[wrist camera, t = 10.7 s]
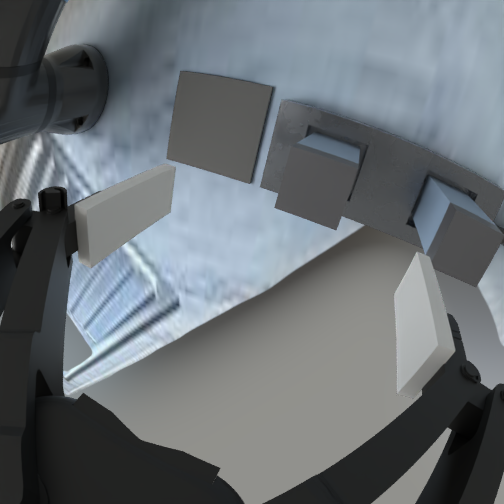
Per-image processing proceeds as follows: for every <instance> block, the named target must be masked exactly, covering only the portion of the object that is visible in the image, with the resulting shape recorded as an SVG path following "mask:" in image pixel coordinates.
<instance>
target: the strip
mask: <svg viewBox="0 0 504 504" xmlns="http://www.w3.org/2000/svg"><path fill="white" fill-rule="evenodd" d="M314 132H318V133H321V134H324V135H327V136H330V137H333V138H336V139H339V140H342V141H345V142H348V143H350V144H353V145H356V146H359V147H360V154H359V165H358V171H357V174H356V177H355V180H354V183H353V185H352V188H351V191H350V194H349V197H348V200H347V202H346V205H345V208H344V211H343V213H342V216H343V217H346V218H349V219H351V220H354V221H356V222H359V223H362V224H364V225H367V226H370V227H372V228H374V229H377V230H379V231H382V232H384V233H387V234H389V235H392V236H394V237H397V238H399V239H402V240H404V241H406V242H409V243H411V244H413V245H416V246H418V247H420V248H423V246H422V243H421V240H420V237H419V234H418V231H417V228H416V226H415V223H414V220H413V217H412V212H413V210H414V208H415V205H416V203H417V201H418V198H419V196H420V193H421V191H422V188H423V186H424V183H425V181H426V178H427V175H431V176H433V177H435V178H437V179H439V180H441V181H443V182H446V183H448V184H450V185H452V186H454V187H456V188H458V189H460V190H462V191H464V192H465V193H466V194H467V195H468V196H469V197H470V198H471V199H472V200H473V201H474V202H475V203H476V204H477V205H478V206H479V207H480V208H481V209H482V210H483V211H484V213H485V214H486V215H487V216H488V217H489V218H490V219H491V220H492V222H493V221H494V219H495V217H496V215H497V213H498V210H499V208H500V206H501V204H502V201H503V199H504V190H503V189H502V188H500V187H499V186H498V185H496V184H494V183H493V182H491V181H489V180H487V179H486V178H484V177H482V176H480V175H478V174H477V173H475V172H473V171H471V170H469V169H467V168H465V167H463V166H461V165H459V164H457V163H455V162H453V161H451V160H449V159H447V158H445V157H443V156H441V155H439V154H437V153H435V152H433V151H430V150H428V149H426V148H424V147H422V146H419V145H417V144H415V143H413V142H410V141H408V140H405V139H403V138H401V137H398V136H396V135H393V134H391V133H388V132H386V131H383V130H381V129H378V128H375V127H373V126H370V125H367V124H365V123H362V122H359V121H356V120H353V119H350V118H347V117H344V116H341V115H338V114H335V113H332V112H329V111H326V110H323V109H319V108H316V107H313V106H309V105H306V104H302V103H299V102H295V101H291V100H281V104H280V108H279V112H278V116H277V120H276V124H275V128H274V132H273V136H272V140H271V144H270V148H269V152H268V156H267V160H266V165H265V169H264V173H263V177H262V181H261V185H260V187H261V188H264V189H267V190H270V191H273V192H276V193H279V189H280V186H281V182H282V178H283V175H284V171H285V167H286V163H287V160H288V156H289V152H290V149H291V146H292V145H294V144H296V143H297V142H299V141H301V140H302V139H304V138H306V137H307V136H309V135H311V134H313V133H314ZM495 225H496V224H495ZM496 226H497V227H498V228H499V230H500V231H501V232H502V233H503V234H504V229H503V228H502V227H500V226H498V225H496ZM501 244H502V245H504V238H503V240H502V242H501Z"/></svg>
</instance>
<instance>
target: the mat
mask: <svg viewBox="0 0 504 504" xmlns="http://www.w3.org/2000/svg"><path fill="white" fill-rule="evenodd" d="M272 91H273V87H270V86H266V85H261V84H257V83H252V82H247V81H242V80H237V79H232V78H226V77H220V76H214V75H208V74H201V73H194V72H187V71H180V76H179V81H178V86H177V92H176V98H175V104H174V110H173V116H172V123H171V129H170V136H169V143H168V151H167V159H169V160H172V161H176V162H179V163H183V164H186V165H190V166H193V167H197V168H200V169H203V170H207V171H210V172H213V173H217V174H220V175H223V176H226V177H229V178H233V179H236V180H239V181H242V182H245V183H248V184H250V183H251V179H252V175H253V170H254V166H255V162H256V158H257V153H258V149H259V145H260V141H261V136H262V132H263V128H264V124H265V120H266V115H267V111H268V107H269V103H270V99H271V95H272Z"/></svg>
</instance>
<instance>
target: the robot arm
mask: <svg viewBox="0 0 504 504" xmlns="http://www.w3.org/2000/svg"><path fill="white" fill-rule="evenodd" d="M67 2H68V0H0V144H3V143H6V142H9V141H12V140H15V139H18V138H21V137H25V136H28V135H31V134H34V133H38V132H49V133H56V134H63V135H72V134H76V133H80V132H84V131H86V130H88V129H89V128H90V127H92V126H93V125H94V123H95V122H96V121H97V120H98V118H99V116H100V115H101V113H102V110H103V108H104V105H105V102H106V98H107V92H108V73H107V68H106V64H105V61H104V59H103V57H102V55H101V54H100V53H99V51H98V50H97V49H95V48H94V47H92V46H90V45H70V46H67V47H64V48H62V49H59V50H57V51H54V52H52V53H50V54H47V55H45V52H46V49H47V46H48V43H49V41H50V38H51V36H52V33H53V30H54V28H55V26H56V23H57V21H58V19H59V17H60V14H61V12H62V10H63V8H64V6H65V4H66V3H67ZM44 55H45V56H44ZM175 170H176V167H175V166H171V165H168V164H162V165H159V166H157V167H155V168H152V169H150V170H147V171H145V172H143V173H140V174H138V175H136V176H134V177H131V178H129V179H127V180H125V181H122V182H120V183H118V184H116V185H114V186H111V187H109V188H107V189H105V190H102V191H98V192H96V193H94V194H92V195H91V196H88V197H86V198H85V199H82V200H80V201H78V202H76V203H74V204H72V205H70V206H68V207H67V190H66V189H65V188H63V187H56V186H55V187H49V188H45V189H43V190H41V191H40V192H39V193H38V198H39V208H40V212H38V211H32V206H31V201H30V200H28V199H16V200H14V201H12V202H10V203H9V204H8V205H6V206H5V207H4V208H3V209H2V210H1V211H0V316H1V315H2V312H3V311H4V313H3V317H2V321H1V325H0V504H244V502H243V500H242V499H241V497H240V496H239V495H238V493H237V492H236V491H235V490H234V489H233V488H232V487H231V486H230V485H229V484H228V483H227V482H225V481H224V480H223V479H221V478H220V477H219V476H217V474H218V472H219V470H220V468H219V467H217V466H214V465H212V464H210V463H207V462H205V461H203V460H200V459H198V458H196V457H194V456H192V455H189V454H187V453H185V452H183V451H179V450H175V449H171V448H167V447H163V446H159V445H156V444H152V443H149V442H145V441H142V440H140V439H139V438H138V437H137V436H135V435H134V434H133V433H132V432H131V431H130V430H129V429H128V428H127V427H126V426H125V425H124V424H123V423H122V422H121V421H120V420H119V419H118V418H117V417H116V416H115V415H114V414H113V413H112V412H111V411H110V410H108V409H106V408H105V407H103V406H102V405H100V404H99V403H97V402H96V401H94V400H93V399H91V398H90V397H88V396H87V395H86V394H84V393H83V394H82V395H81V396H80V397H79V398H78V399H74V398H70V397H65V396H64V391H63V352H64V334H65V321H66V320H65V319H66V310H67V301H68V292H69V284H70V277H71V270H72V263H73V259H72V254H73V253H75V252H76V251H78V257H79V262H80V263H82V264H84V265H86V266H88V267H89V268H92V267H94V266H95V265H96V264H98V263H99V262H100V261H102V260H103V259H104V258H106V257H107V256H108V255H110V254H111V253H113V252H114V251H115V250H117V249H118V248H119V247H121V246H122V245H124V244H125V243H126V242H128V241H129V240H131V239H132V238H134V237H135V236H136V235H138V234H139V233H141V232H142V231H144V230H145V229H146V228H148V227H149V226H151V225H152V224H154V223H155V222H157V221H158V220H160V219H161V218H163V217H164V216H166V215H167V214H169V213H170V212H171V204H172V195H173V186H174V178H175ZM11 241H12V246H13V247H12V248H11ZM394 304H395V317H396V318H395V320H396V341H397V343H396V344H397V394H398V395H402V396H405V397H409V398H412V399H413V398H414V397H415V396H416V395H417V394H418V393H419V392H420V391H421V390H422V396H421V397H420V398H419V399H418V400H416V401H415V402H414V403H413V404H412V405H411V406H410V407H409V408H407V409H406V410H405V411H404V412H403V413H402V414H401V415H399V416H398V417H397V418H396V419H395V420H394V421H392V422H391V423H390V424H389V425H387V426H386V427H385V428H384V429H382V430H381V431H380V432H379V433H377V434H376V435H375V436H374V437H372V438H371V439H369V440H368V441H367V442H365V443H364V444H363V445H362V446H360V447H359V448H357V449H356V450H354V451H353V452H352V453H350V454H349V455H347V456H346V457H345V458H343V459H341V460H340V461H339V462H337V463H336V464H334V465H332V466H331V467H329V468H328V469H326V470H325V471H323V472H321V473H320V474H318V475H315V476H313V477H311V478H310V479H308V480H306V481H304V482H303V483H301V484H299V485H297V486H296V487H294V488H292V489H290V490H289V491H287V492H285V493H283V494H281V495H279V496H277V497H275V498H273V499H271V500H269V501H267V502H265V503H263V504H371V503H372V502H373V501H375V500H376V499H377V498H378V497H379V496H380V495H382V494H383V493H384V492H385V491H386V490H387V489H388V488H389V487H391V486H392V485H393V484H394V483H395V482H396V481H397V480H398V479H399V478H400V477H401V476H402V475H403V474H404V473H406V472H407V471H408V469H410V468H411V467H412V466H413V465H414V463H416V462H417V460H418V459H419V458H420V457H421V456H422V455H423V454H424V453H425V452H426V451H427V450H428V449H429V448H430V446H432V444H433V443H434V442H435V441H436V440H437V439H438V437H439V436H440V435H441V434H442V433H443V432H444V431H445V429H446V428H447V427H448V428H450V429H451V430H452V431H451V434H450V436H449V438H448V441H447V443H446V445H445V448H444V450H443V452H442V454H441V456H440V458H439V460H438V462H437V464H436V466H435V468H434V471H433V473H432V474H431V476H430V478H429V480H428V482H427V484H426V486H425V487H424V489H423V491H422V493H421V495H420V496H419V498H418V500H417V502H416V503H415V504H494V501H495V498H496V495H497V492H498V489H499V486H500V482H501V479H502V475H503V472H504V384H498V385H497V386H496V387H495V388H494V389H493V390H490V389H488V388H487V387H486V386H484V385H483V384H481V383H480V382H481V377H480V373H479V371H478V370H477V368H476V367H475V366H474V365H473V364H472V363H471V362H470V361H467V360H466V355H465V351H464V346H463V343H462V341H461V340H462V338H461V334H460V331H459V327H458V324H457V322H456V320H455V319H454V318H453V316H452V315H451V314H448V313H446V309H445V305H444V302H443V298H442V295H441V291H440V288H439V285H438V281H437V278H436V275H435V272H434V268H433V265H432V262H431V259H430V257H429V256H426V255H424V254H422V253H419V252H416V254H415V256H414V258H413V260H412V263H411V264H410V266H409V268H408V270H407V272H406V274H405V275H404V277H403V279H402V281H401V283H400V285H399V286H398V288H397V290H396V292H395V294H394Z"/></svg>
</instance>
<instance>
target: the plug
mask: <svg viewBox="0 0 504 504" xmlns="http://www.w3.org/2000/svg"><path fill="white" fill-rule="evenodd" d="M359 154H360V147H359V146H356V145H353V144H350V143H348V142H345V141H342V140H339V139H336V138H333V137H330V136H327V135H324V134H321V133H318V132H314V133H313V134H311V135H309V136H307V137H306V138H304V139H302V140H301V141H299V142H297V143H296V144H294V145H292V146H291V149H290V152H289V156H288V160H287V163H286V167H285V171H284V175H283V178H282V182H281V186H280V189H279V193H278V197H277V200H276V204H275V208H276V209H279V210H282V211H285V212H288V213H290V214H293V215H296V216H299V217H302V218H304V219H307V220H310V221H312V222H315V223H318V224H321V225H323V226H326V227H329V228H331V229H334V230H337V227H338V224H339V222H340V219H341V216H342V213H343V211H344V208H345V205H346V202H347V200H348V197H349V194H350V191H351V188H352V185H353V183H354V180H355V177H356V174H357V171H358V165H359Z"/></svg>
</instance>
